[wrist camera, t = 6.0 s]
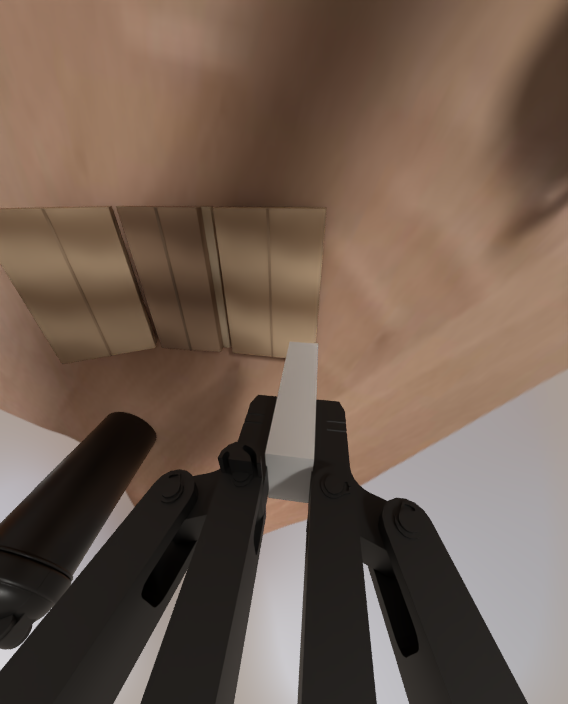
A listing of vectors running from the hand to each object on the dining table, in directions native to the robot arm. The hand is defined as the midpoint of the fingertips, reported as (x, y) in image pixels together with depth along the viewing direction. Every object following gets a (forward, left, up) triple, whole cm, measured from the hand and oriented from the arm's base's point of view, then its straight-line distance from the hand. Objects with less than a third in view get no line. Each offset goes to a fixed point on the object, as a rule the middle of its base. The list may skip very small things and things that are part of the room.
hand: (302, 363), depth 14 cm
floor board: (0, -13, -13) cm, 18 cm away
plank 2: (0, -9, -13) cm, 15 cm away
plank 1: (0, -18, -13) cm, 22 cm away
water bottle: (+25, -28, -13) cm, 40 cm away
